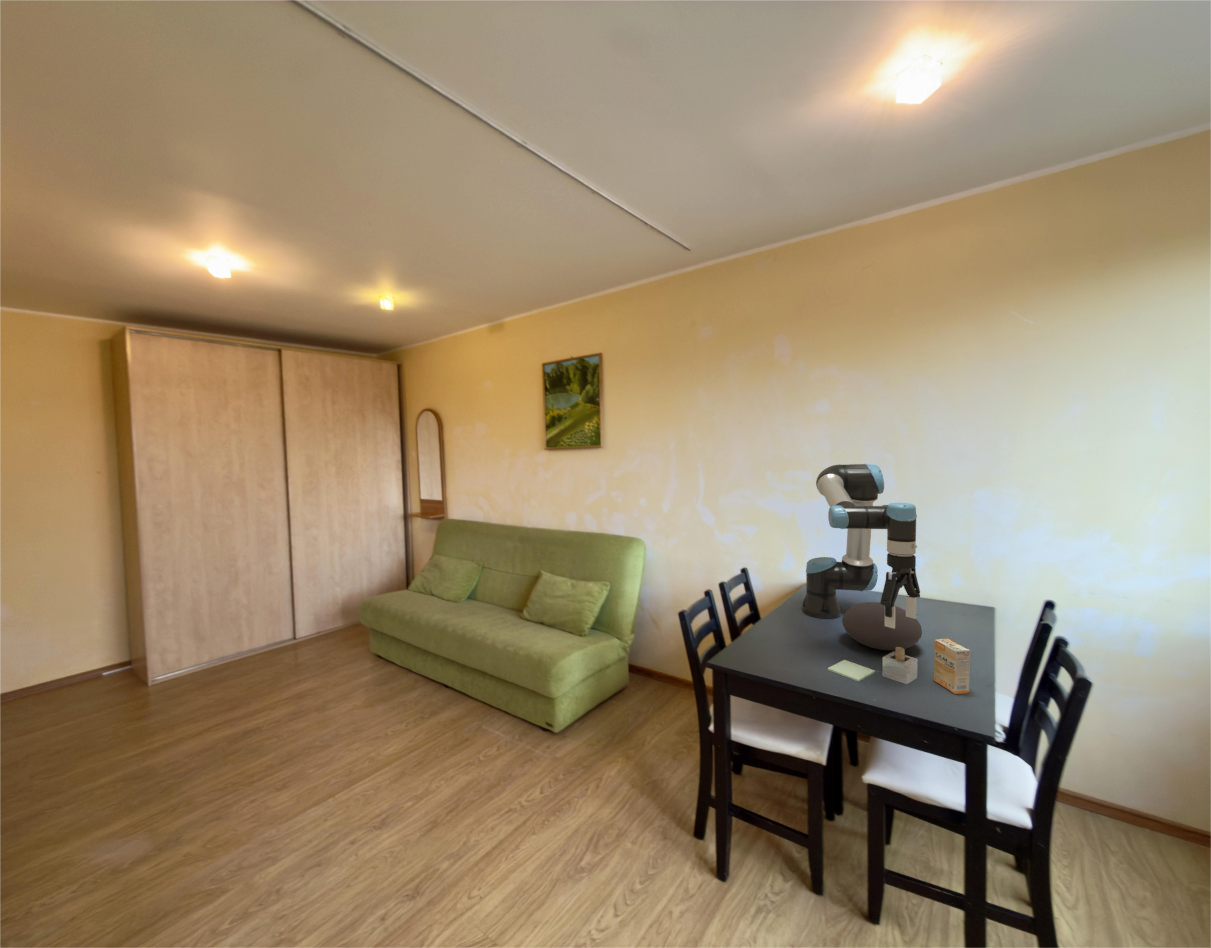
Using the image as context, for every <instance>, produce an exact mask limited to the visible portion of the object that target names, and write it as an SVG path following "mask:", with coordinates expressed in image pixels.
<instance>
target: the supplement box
mask: <svg viewBox="0 0 1211 948" xmlns="http://www.w3.org/2000/svg"><path fill="white" fill-rule="evenodd" d="M970 666H971V649H969V648H966V647H965V646H963V645H961V644H959V643H957V642H955V641H953V640H952V639H949V638H940V639H935V640H934V665H933V671H934V672H933V681H934V682H935V683H937V684H938V685H940V686H942V687H943V688H945V689H946V690H948V691H950V692H951V693H952V694H954V695H962V694H965V695H966V694H970V676H971V675H970V674H971V673H970V672H971V671H970V670H971V669H970V668H971V667H970Z"/></svg>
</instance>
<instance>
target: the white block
mask: <svg viewBox="0 0 1211 948" xmlns="http://www.w3.org/2000/svg"><path fill="white" fill-rule="evenodd" d="M895 656H896V651H895V650H892V652H891V651H890V652H889V653H888V654H885V655H884V656H882V677H884V678H887V679H890V680H892V681H895V682H898V683H901V684H904V685H908V684H910V683H911V682H913V681H914V680H917V679H918V661H919V660H918V658H916V657H913V656H909V655H906V654H905V662H902V661H899V660H896V659H895Z"/></svg>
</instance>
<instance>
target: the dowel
mask: <svg viewBox="0 0 1211 948" xmlns="http://www.w3.org/2000/svg"><path fill="white" fill-rule="evenodd" d="M905 650H906V649H904V648H902V647H896V650H895V652H896V656H895V659H896V660H899V661H902V662H905V655H906V653H905V652H906V651H905Z"/></svg>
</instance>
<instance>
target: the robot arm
mask: <svg viewBox="0 0 1211 948" xmlns="http://www.w3.org/2000/svg"><path fill="white" fill-rule="evenodd" d="M815 486H816V489H817V491H818V492H819V494H820V495H822V496H823V497H824V498H825V501H826V502H827V505H828V506H829V508H828V514H827V515H828V516H827V517H828V522H829V527H830V528H833V529H840V530H845V529H846V530H847V532H846V533H847V534H846V535H847V536H846V550H845V551H846V552H845V554H843V555H842V556H841V561H837V559H836V558H834V557H831V556H829V557H828V556H821V557H814V558H811V559H808V561H807V563H806V568H805V574H806V576H805V578H806V585H805V586H806V588H805V589H806V594H805V596H804V599H803V601H802V604H801V611H802V613H803V614H805V615H807V616H810V617H813V618H818V619H835V618H836V619H837V618H839V617H840V616H841V608H840V605H839V601H838V598H837V590H840V591H859V592H869V591H872V590H874V589H875V588H876V585H877V582H878V577H879V576H878V575H879V574H878V567H877V564H876V563H875V562H874V559H872V558H871V556H870V554H871V553H870V551H871V538H872V530H886V533H887V535H886V538H887V539H886V552H887V554H886V564H887V566H889V567H891V572H890V571H886V573H885V580H884V581H885V582H884V584H883V585H884V586H883V590H882V594H881V598H880V603H881V605H885V626H886V627H890V628H893V629H894V628H895V606H896V605H895V603H896V600H897V598H898V594H899V592H900V589H902V588H903V587H904V591H905V592H906V594H907V595H906V596H905V610H906V617H910V618H914V619H917V598H919V599H920V597H921V589H920V585H919V581H918V577H917V571H916V567H917V565H916V563H917V562H916V558H917V556H916V555H915V554H916V553H917V552H916V549H917V548H918V545H917V542H916V541H917V540H916V539H917V518H918V517H917V516H918V515H917V507H916V505H915V504H913V503H907V502H891V503H888V504H882V505H874V502H876V501H877V500H878V497H879V495H881V494H883V493H884V490H885V480H884V474H883V472H882V470H881V468H880V466H878V465H877V464H871V463H869V464H868V463H859V464H858V463H857V464H856V463H853V464H834V465H830V466H828V467H826V468H824V469H823V470H822V471H821V472H820V473H819V474H818V476H817V477H816V481H815Z"/></svg>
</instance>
